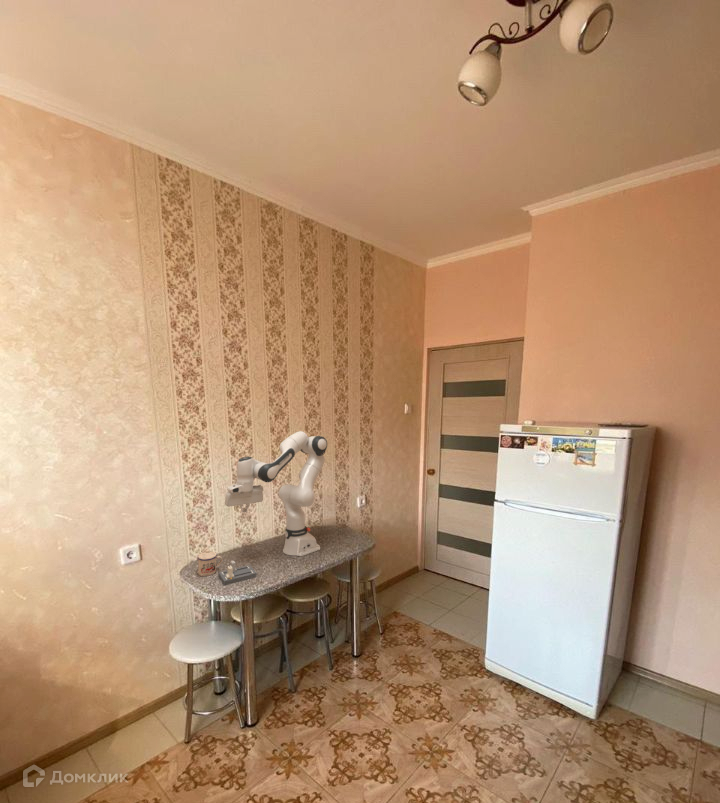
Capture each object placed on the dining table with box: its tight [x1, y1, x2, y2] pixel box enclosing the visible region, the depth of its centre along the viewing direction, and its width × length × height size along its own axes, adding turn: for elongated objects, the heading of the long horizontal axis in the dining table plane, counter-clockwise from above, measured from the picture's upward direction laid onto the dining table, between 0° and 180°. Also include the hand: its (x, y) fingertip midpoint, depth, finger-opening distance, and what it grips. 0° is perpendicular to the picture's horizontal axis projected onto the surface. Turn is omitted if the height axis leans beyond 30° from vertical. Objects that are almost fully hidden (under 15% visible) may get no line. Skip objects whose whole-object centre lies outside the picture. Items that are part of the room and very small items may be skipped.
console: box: [218, 560, 257, 586], centre depth 186 cm, size 16×11×7 cm
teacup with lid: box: [197, 549, 223, 577], centre depth 190 cm, size 12×9×12 cm
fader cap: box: [226, 565, 234, 579], centre depth 181 cm, size 3×3×5 cm
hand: (244, 512), depth 199 cm, fingers closed
